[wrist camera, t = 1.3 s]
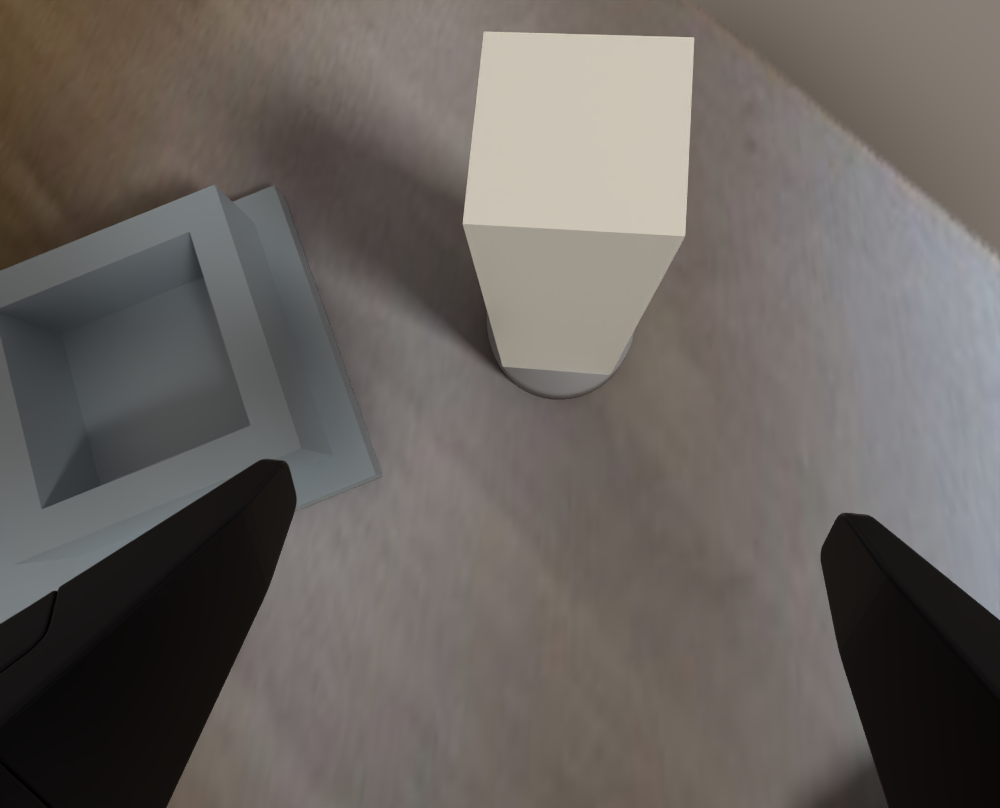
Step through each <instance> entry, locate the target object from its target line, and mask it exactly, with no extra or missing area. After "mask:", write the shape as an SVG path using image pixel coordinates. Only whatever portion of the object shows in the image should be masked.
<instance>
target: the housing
mask: <svg viewBox="0 0 1000 808" xmlns="http://www.w3.org/2000/svg"><path fill="white" fill-rule="evenodd" d="M261 459H275V460H283V461H286V462H287V464H288V465H289V468H290V471H291V475H292V479H293V483H294V487H295V491H296V495H297V504H296V509H295V511H297V510H299V509H302V508H304V507H307V506H309V505H312V504H314V503H317V502H319V501H322V500H324V499H327V498H329V497H332V496H334V495H337V494H339V493H342V492H344V491H347V490H349V489H352V488H354V487H357V486H359V485H362V484H364V483H367V482H369V481H372V480H374V479H377V478H379V477H382V476H383V475H382V472H381V469H380V467H379V464H378V461H377V458H376V455H375V452H374V450H373V447H372V444H371V441H370V438H369V435H368V433H367V430H366V427H365V424H364V421H363V418H362V416H361V413H360V410H359V407H358V404H357V401H356V399H355V396H354V393H353V390H352V387H351V384H350V382H349V379H348V376H347V373H346V370H345V367H344V365H343V362H342V359H341V356H340V353H339V350H338V348H337V345H336V342H335V339H334V336H333V333H332V331H331V328H330V325H329V322H328V319H327V316H326V314H325V311H324V308H323V305H322V302H321V299H320V297H319V294H318V291H317V288H316V285H315V282H314V280H313V277H312V274H311V271H310V268H309V265H308V263H307V260H306V257H305V254H304V251H303V248H302V246H301V243H300V240H299V237H298V234H297V231H296V229H295V226H294V223H293V220H292V217H291V214H290V212H289V209H288V206H287V203H286V200H285V197H284V196H283V195H282V194H281V193H280V191H279V190H278V189H277V188H276V187H275V185H273V186H270V187H268V188H265V189H263V190H261V191H258V192H256V193H253V194H251V195H248V196H246V197H243V198H241V199H238V200H236V201H233V202H232V201H231V200H230V199H229V198H228V197H227V196H226V195H225V194H224V193H223V192H222V191H221V190H220V189H219V188H218V187H217V186H216V185H212V186H210V187H207V188H205V189H202V190H200V191H197V192H195V193H192V194H190V195H187V196H185V197H182V198H180V199H177V200H175V201H172V202H170V203H167V204H165V205H162V206H160V207H157V208H155V209H152V210H150V211H147V212H145V213H143V214H140V215H138V216H135V217H133V218H130V219H128V220H125V221H123V222H120V223H118V224H115V225H113V226H110V227H108V228H105V229H103V230H100V231H98V232H95V233H93V234H90V235H88V236H85V237H83V238H80V239H78V240H75V241H73V242H71V243H68V244H66V245H63V246H61V247H58V248H56V249H53V250H51V251H48V252H46V253H43V254H41V255H38V256H36V257H33V258H31V259H28V260H26V261H23V262H21V263H18V264H16V265H13V266H11V267H8V268H6V269H3V270H1V271H0V623H2V622H4V621H5V620H7V619H9V618H10V617H12V616H13V615H15V614H17V613H18V612H20V611H22V610H23V609H25V608H27V607H28V606H30V605H31V604H33V603H34V602H36V601H38V600H39V599H41V598H42V597H44V596H46V595H47V594H49V593H50V592H52V591H58V588H59V587H60V586H62V585H63V584H65V583H66V582H68V581H69V580H71V579H73V578H74V577H76V576H77V575H79V574H80V573H82V572H84V571H85V570H87V569H88V568H90V567H92V566H93V565H95V564H96V563H98V562H99V561H101V560H103V559H104V558H106V557H107V556H109V555H110V554H112V553H114V552H115V551H117V550H118V549H120V548H121V547H123V546H125V545H126V544H128V543H129V542H131V541H133V540H134V539H136V538H137V537H139V536H140V535H142V534H144V533H145V532H147V531H148V530H150V529H151V528H153V527H155V526H156V525H158V524H159V523H161V522H163V521H164V520H166V519H167V518H169V517H170V516H172V515H174V514H175V513H177V512H178V511H180V510H181V509H183V508H185V507H186V506H188V505H189V504H191V503H192V502H194V501H196V500H197V499H199V498H200V497H202V496H204V495H205V494H207V493H208V492H210V491H211V490H213V489H215V488H216V487H218V486H219V485H221V484H222V483H224V482H226V481H227V480H229V479H230V478H232V477H233V476H235V475H237V474H238V473H240V472H241V471H243V470H245V469H246V468H248V467H249V466H251V465H252V464H254V463H256V462H257V461H259V460H261Z"/></svg>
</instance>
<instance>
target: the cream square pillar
mask: <svg viewBox="0 0 1000 808" xmlns="http://www.w3.org/2000/svg"><path fill="white" fill-rule="evenodd" d="M693 53H694V37H658V36H622V35H586V34H550V33H514V32H484V36H483V45H482V54H481V63H480V72H479V81H478V90H477V99H476V108H475V117H474V126H473V135H472V144H471V153H470V162H469V171H468V180H467V189H466V198H465V207H464V216H463V227H464V231H465V234H466V238H467V241H468V245H469V248H470V252H471V255H472V259H473V263H474V266H475V270H476V273H477V277H478V280H479V284H480V288H481V291H482V295H483V298H484V302H485V305H486V309H487V322H486V324H487V333H488V337H489V341H490V345H491V348H492V351H493V354H494V356H495V359H496V361H497V363H498V365H499V366H500V368H501V370H502V371H503V372H504V374H505V375H506V376H507V377H508V378H509V379H510V380H511V381H512V382H513V383H514V384H516V385H517V386H518V387H519V388H521V389H523V390H525V391H526V392H528V393H531V394H533V395H535V396H539V397H542V398H548V399H562V400H563V399H572V398H576V397H580V396H583V395H586V394H588V393H590V392H592V391H594V390H596V389H598V388H599V387H600V386H602V385H603V384H605V383H606V382H607V381H608V380H609V379H610V378H611V377H612V376H613V374H614V373H615V372H616V371H617V369H618V368H619V366H620V364H621V363H622V361H623V359H624V358H625V356H626V354H627V352H628V350H629V348H630V345H631V343H632V339H633V336H634V330H635V328H636V326H637V325H638V323H639V321H640V319H641V317H642V315H643V313H644V312H645V310H646V308H647V306H648V304H649V302H650V300H651V299H652V297H653V295H654V293H655V291H656V289H657V288H658V286H659V284H660V282H661V280H662V278H663V276H664V275H665V273H666V271H667V269H668V267H669V265H670V263H671V262H672V260H673V258H674V256H675V254H676V252H677V250H678V249H679V247H680V245H681V243H682V241H683V239H684V238H685V230H686V208H687V186H688V164H689V141H690V119H691V97H692V75H693Z"/></svg>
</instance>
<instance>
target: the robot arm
mask: <svg viewBox="0 0 1000 808" xmlns="http://www.w3.org/2000/svg"><path fill="white" fill-rule="evenodd" d="M296 504H297V495H296V491H295V487H294V483H293V479H292V475H291V471H290V468H289V465H288V464H287V462H286V461H283V460H275V459H261V460H259V461H257V462H256V463H254V464H252V465H251V466H249V467H248V468H246V469H245V470H243V471H241V472H240V473H238V474H237V475H235V476H233V477H232V478H230V479H229V480H227V481H226V482H224V483H222V484H221V485H219V486H218V487H216V488H215V489H213V490H211V491H210V492H208V493H207V494H205V495H204V496H202V497H200V498H199V499H197V500H196V501H194V502H192V503H191V504H189V505H188V506H186V507H185V508H183V509H181V510H180V511H178V512H177V513H175V514H174V515H172V516H170V517H169V518H167V519H166V520H164V521H163V522H161V523H159V524H158V525H156V526H155V527H153V528H151V529H150V530H148V531H147V532H145V533H144V534H142V535H140V536H139V537H137V538H136V539H134V540H133V541H131V542H129V543H128V544H126V545H125V546H123V547H121V548H120V549H118V550H117V551H115V552H114V553H112V554H110V555H109V556H107V557H106V558H104V559H103V560H101V561H99V562H98V563H96V564H95V565H93V566H92V567H90V568H88V569H87V570H85V571H84V572H82V573H80V574H79V575H77V576H76V577H74V578H73V579H71V580H69V581H68V582H66V583H65V584H63V585H62V586H60V587H59V588H58V591H52V592H50V593H49V594H47V595H46V596H44V597H42V598H41V599H39V600H38V601H36V602H34V603H33V604H31V605H30V606H28V607H27V608H25V609H23V610H22V611H20V612H18V613H17V614H15V615H13V616H12V617H10V618H9V619H7V620H5V621H4V622H2V623H0V808H166V807H167V805H168V803H169V801H170V799H171V797H172V794H173V792H174V790H175V788H176V786H177V784H178V782H179V779H180V777H181V775H182V773H183V771H184V769H185V767H186V764H187V762H188V760H189V758H190V756H191V754H192V752H193V749H194V747H195V745H196V743H197V741H198V739H199V737H200V734H201V732H202V730H203V728H204V726H205V724H206V722H207V719H208V717H209V715H210V713H211V711H212V709H213V707H214V705H215V702H216V700H217V698H218V696H219V694H220V692H221V690H222V687H223V685H224V683H225V681H226V679H227V677H228V675H229V672H230V670H231V668H232V666H233V664H234V662H235V660H236V657H237V655H238V653H239V651H240V649H241V647H242V645H243V642H244V640H245V638H246V636H247V634H248V632H249V630H250V627H251V625H252V623H253V621H254V619H255V617H256V615H257V612H258V610H259V608H260V606H261V604H262V602H263V599H264V597H265V595H266V593H267V590H268V588H269V585H270V583H271V580H272V577H273V574H274V571H275V568H276V565H277V562H278V559H279V556H280V554H281V551H282V548H283V545H284V542H285V539H286V536H287V533H288V530H289V527H290V524H291V521H292V518H293V515H294V512H295V509H296ZM821 565H822V570H823V575H824V580H825V585H826V590H827V595H828V600H829V605H830V610H831V615H832V620H833V625H834V630H835V635H836V640H837V644H838V649H839V653H840V656H841V660H842V663H843V666H844V670H845V673H846V676H847V679H848V682H849V685H850V688H851V691H852V695H853V698H854V701H855V704H856V707H857V710H858V713H859V716H860V720H861V723H862V726H863V729H864V732H865V735H866V738H867V741H868V744H869V748H870V751H871V754H872V757H873V760H874V763H875V766H876V769H877V773H878V776H879V779H880V782H881V785H882V788H883V791H884V794H885V798H886V801H887V804H888V807H889V808H1000V620H999V619H998V618H997V617H995V616H994V615H993V614H992V613H990V612H989V611H988V610H987V609H985V608H984V607H983V606H982V605H981V604H979V603H978V602H977V601H976V600H974V599H973V598H972V597H971V596H969V595H968V594H967V593H966V592H965V591H963V590H962V589H961V588H960V587H958V586H957V585H956V584H955V583H953V582H952V581H951V580H950V579H948V578H947V577H946V576H945V575H944V574H942V573H941V572H940V571H939V570H937V569H936V568H935V567H934V566H932V565H931V564H930V563H929V562H928V561H926V560H925V559H924V558H923V557H921V556H920V555H919V554H918V553H916V552H915V551H914V550H913V549H912V548H910V547H909V546H908V545H907V544H905V543H904V542H903V541H902V540H900V539H899V538H898V537H897V536H896V535H894V534H893V533H892V532H891V531H889V530H888V529H887V528H886V527H884V526H883V525H882V524H881V523H879V522H878V521H877V520H876V519H874V518H873V517H871V516H869V515H865V514H855V513H842V514H840V515H839V516H838V517H837V518H836V520H835V522H834V524H833V526H832V528H831V530H830V532H829V534H828V536H827V538H826V540H825V542H824V544H823V546H822V549H821Z"/></svg>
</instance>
